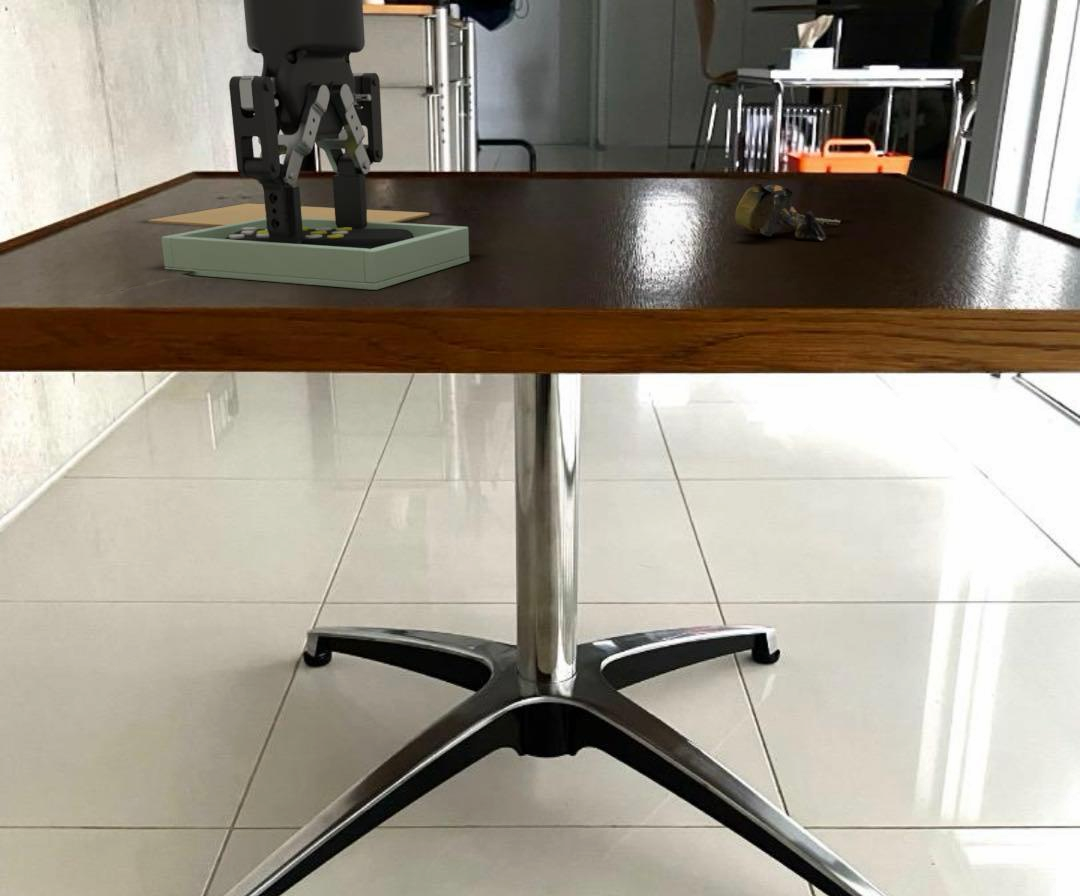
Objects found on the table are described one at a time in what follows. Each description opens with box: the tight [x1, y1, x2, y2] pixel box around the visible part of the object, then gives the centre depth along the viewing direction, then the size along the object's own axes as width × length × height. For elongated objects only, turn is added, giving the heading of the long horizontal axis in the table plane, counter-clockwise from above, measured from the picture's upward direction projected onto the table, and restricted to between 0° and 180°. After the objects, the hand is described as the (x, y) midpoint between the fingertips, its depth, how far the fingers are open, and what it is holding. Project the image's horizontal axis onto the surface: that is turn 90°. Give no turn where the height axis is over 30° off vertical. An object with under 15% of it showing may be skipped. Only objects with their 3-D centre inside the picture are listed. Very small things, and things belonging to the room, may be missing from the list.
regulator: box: [734, 183, 842, 241], centre depth 98 cm, size 8×4×15 cm
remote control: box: [225, 227, 414, 249], centre depth 84 cm, size 6×13×2 cm, turn 89°
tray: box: [160, 217, 470, 291], centre depth 84 cm, size 17×13×2 cm
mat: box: [147, 203, 430, 227], centre depth 108 cm, size 20×14×1 cm
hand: (320, 236), depth 84 cm, fingers closed on remote control, 7 cm apart
